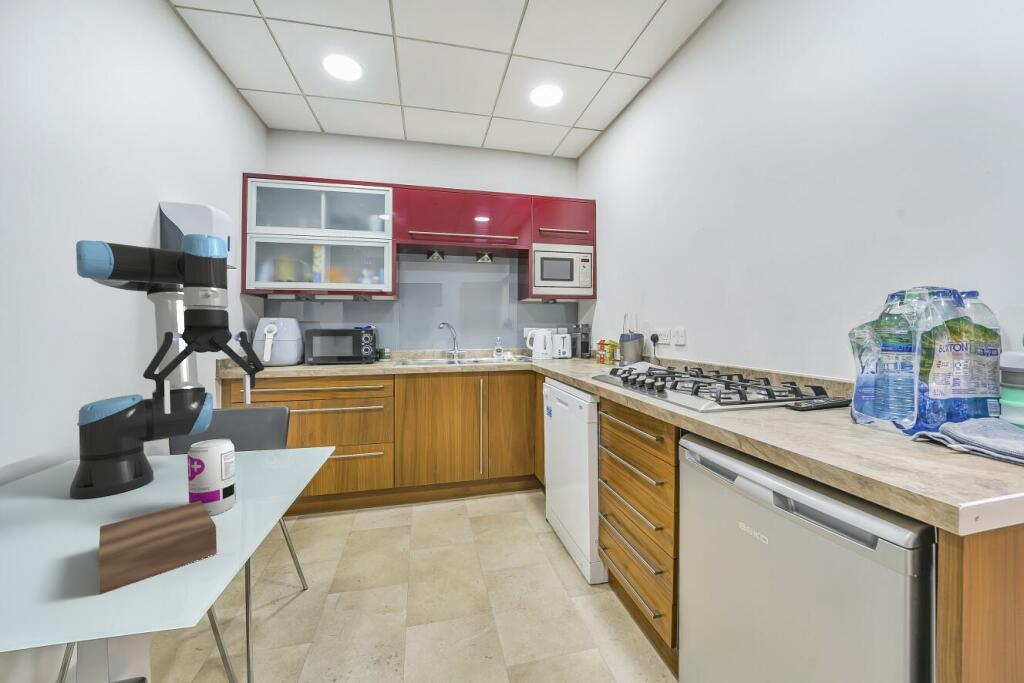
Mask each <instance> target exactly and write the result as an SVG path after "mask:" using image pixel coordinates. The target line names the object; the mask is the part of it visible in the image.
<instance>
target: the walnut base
mask: <svg viewBox="0 0 1024 683" xmlns="http://www.w3.org/2000/svg"><path fill="white" fill-rule="evenodd" d="M217 549H218V548H217V525H216V523H215V522H214V520H213V518H212V516H210V515H209V514H208V512H207V510H206V509H205V507H204V505H203V504H202V502H201V501H198V502H194V503H190V504H189V503H186V504H182V505H179V506H175V507H171V508H167V509H162V510H158V511H155V512H152V513H148V514H144V515H140V516H135V517H132V518H127V519H123V520H121V521H115V522H112V523H107V524H103V525H100V526H99V543H98V581H99V582H98V584H99V595H102V594H105V593H107V592H112V591H114V590H117V589H120V588H122V587H125V586H128V585H131V584H134V583H137V582H140V581H143V580H146V579H149V578H151V577H155V576H158V575H161V574H163V573H166V572H169V571H172V570H174V568H175V569H178V568H180V566H181V567H184V566H186V565H185V564H187V565H189V564H188V563H190V564H192V563H191V562H193V563H195V562H194V561H196V560H199V559H202V558H205V557H208V556H210V557H212V556H211V555H213V556H215V555H214V554H216V553H217V554H218V550H217ZM217 554H216V555H217ZM208 558H209V557H208ZM205 559H206V558H205ZM202 560H203V559H202ZM199 561H200V560H199ZM196 562H197V561H196ZM183 565H184V566H183ZM177 567H178V568H177Z"/></svg>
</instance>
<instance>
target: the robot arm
mask: <svg viewBox="0 0 1024 683" xmlns="http://www.w3.org/2000/svg"><path fill="white" fill-rule="evenodd" d="M75 252H76V256H75V257H76V273H77V275H78V276H79V277H81V278H84V279H89V280H90V279H91V280H92V281H93V282H95V283H98V284H100V285H102V286H106V287H110V288H115V289H118V290H125V291H129V292H130V291H131V292H144V293H145V292H146V298H147V300H149V301H150V302H152V303H153V304H154V318H155V335H156V336H155V337H156V353H155V354H154V356H153V358H152V359H151V361H150V363H149V364H148V366H147V367H146V369H145V371H144V372H143V373H142V377H143V378H144V379H146V380H152V381H155V389H154V390H152V392H151V395H152V396H151V397H152V398H144V397H143V396H142V394H138V393H137V394H129V395H122V396H116V397H110V398H107V399H106V398H105V399H102V400H97V401H96V400H95V401H93V402H90V403H86V404H84V405H83V406H81V407H80V409H79V410H78V422H77V423H76V424H77V425H76V426H77V427H78V434H79V435H78V440H79V444H78V445H79V446H78V448H79V465H78V467H77V470H76V472H75V474H74V477H73V480H72V482H71V484H70V487H69V490H70V492H69V493H70V494H69V495H70V498H72V497H73V499H93V498H102V497H105V496H110V495H111V496H112V495H116V494H121V493H125V492H129V491H132V490H135V489H138V488H140V487H143V486H146V485H148V484H150V483H152V481H154V478H155V476H154V475H155V474H154V470H153V468H152V465H151V463H150V461H149V460H148V458H147V456H146V454H145V449H144V448H145V446H144V443H146V442H153V441H154V442H155V441H161V440H167V439H174V438H180V437H189V436H191V435H192V436H193V435H196V434H201V433H204V432H206V431H207V430H209V427H210V425H211V422H212V419H213V418H212V417H213V411H214V396H213V394H212V393H211V392H207V391H206V386H205V385H203V384H202V383H200V382H199V378H198V377H199V376H198V363H197V354H198V353H199V354H204V353H208V352H210V353H218V352H221V351H222V352H223V353H224V354H225V355H227V357H229V358H230V359H231V360H232V361H233V362H234V363H236V364H237V365H238V366H239V367H240V368H241V369H242V370H243V371H244V372H245V373H244V374H242V387H243V388H242V390H243V394H242V396H243V404H245V405H251V389H255V387H256V375H257V373H259V372H263V371H265V366H264V365H263V363H262V362H261V360H260V358H259V357H258V355H257V353H256V352H255V351H254V350H255V349H254V348H252V346H251V344H250V342H249V340H248V334H247V332H246V331H243V330H242V331H237V332H231V331H230V326H229V325H230V323H229V320H230V319H229V318H230V317H229V311H228V310H226V309H227V308H229V297H228V296H229V295H228V291H229V290H228V257H229V256H228V255H229V253H227V252H228V251H227V243H226V241H225V240H224V239H222V238H221V237H218V236H214V235H209V234H201V233H187V234H184V235H183V236H182V237H181V246H180V250H174V249H166V248H165V249H164V248H156V247H146V246H138V245H131V244H123V243H115V242H114V243H112V242H106V241H101V240H87V239H86V240H81V239H80V240H79V241H77V242H76V243H75ZM231 339H234V341H235V342H239V344H240V346H241V348H242V349H243V351H244V352H245V354H246V356H247V357H248V359H249V361H250V362H251V363H252V365H253V366H251V365H250V364H249V363H248V362H246V360H244V359H243V358H242V357H241V356H240V355H239V354H238V353H237V352H235V351H234V350H233V348H232V347H231V346H230V345H228V343H229V342H230V341H231ZM156 370H157V372H158V373H156Z"/></svg>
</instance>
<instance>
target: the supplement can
mask: <svg viewBox="0 0 1024 683" xmlns="http://www.w3.org/2000/svg"><path fill="white" fill-rule="evenodd" d="M231 440H232V439H229V438H215V439H209V440H208V439H207V440H203V441H202V440H201V441H198V442H196V443H195V442H194V443H192V444H191V445H190V448H189V450H188V452H187V453H186V454H187V455H186V457H187V479H188V480H187V482H188V483H187V484H188V485H187V487H188V504H190V503H194V502H198V501H201V502H202V504H203V505H204V507H205V509H206V510H207V512H208V514H209V515H210V517H213V515H214V516H216V515H220V514H222V512H223V513H225V512H227V511H226V510H228V509H229V510H231V509H232V508H233V507H232V506H234V505H236V503H237V495H236V494H237V492H236V489H237V488H236V462H235V460H236V459H235V445H234V444H233V443H232V441H231ZM231 507H232V508H231ZM230 508H231V509H230ZM229 510H228V511H229ZM224 511H225V512H224Z"/></svg>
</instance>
